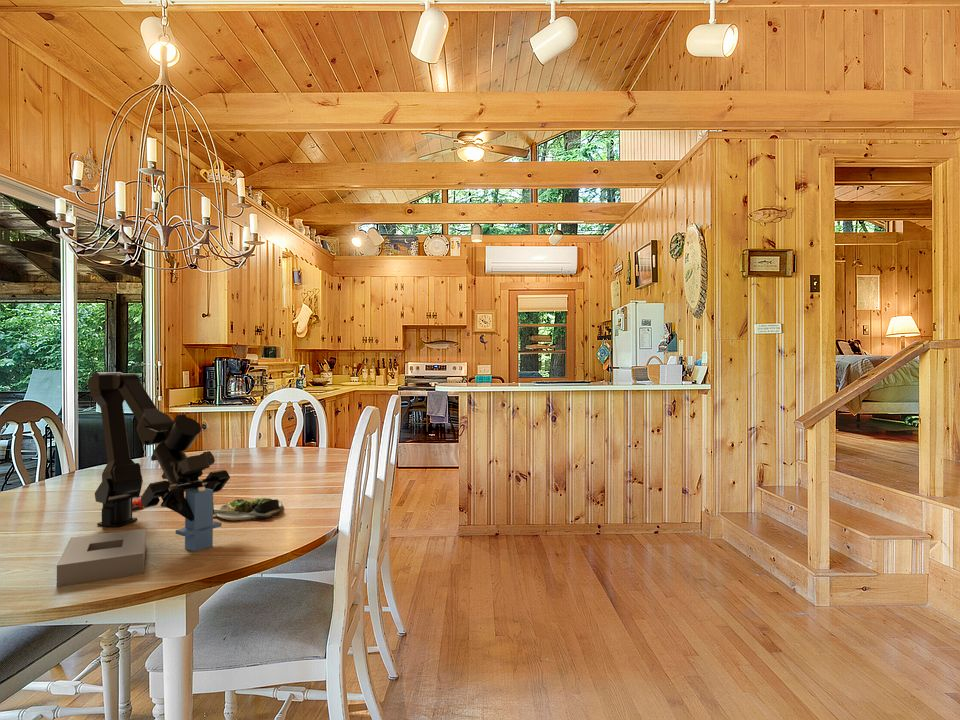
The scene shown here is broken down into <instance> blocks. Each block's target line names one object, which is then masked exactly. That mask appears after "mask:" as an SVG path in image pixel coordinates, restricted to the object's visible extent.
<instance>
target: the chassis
mask: <svg viewBox="0 0 960 720" xmlns="http://www.w3.org/2000/svg"><path fill="white" fill-rule="evenodd" d="M65 546H66V547H65V548H64V550H63V552H62V555H61V556H60V558H59V560H58V562H57V565H56V587H62V586H69V585H75V584H83V583H88V582H95V581H101V580H108V579H115V578H121V577H126V576H134V575H141V574H144V571H145V560H146V549H147V528H139V529H132V530H131V529H130V530H124V531H122V530H121V531H115V532H114V531H113V532H105V533H100V534H89V535H83V536H82V535H81V536H73V537H70V538H69V540H68V542H67V545H65Z"/></svg>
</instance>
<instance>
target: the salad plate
mask: <svg viewBox="0 0 960 720" xmlns="http://www.w3.org/2000/svg"><path fill="white" fill-rule="evenodd" d="M282 509H283V502H282V501H281V500H279V499H272V498H270V497H269V498H267V497H259V498H258V497H257V498H255V499H253V500H250V501H249V500H246V499H244V498H240V499H239V498H237V499H236V498H234V499H233V500H232V501H231V502H228V503H227V502H226V503H225V504H222V505H221V506H220V507H219V509H214V514H213V516H216V517H217V518H221V519H223V520H226V521H231V522H232V521H235V522H236V521H237V520H240V521H252V520H251V519H257V520H264V519H263V518H267V519H270V518H269V517H271V518H274V517H273V516H275V517H277V516H279V515H280V514H281V513H280V512H283V511H282ZM278 514H279V515H278ZM276 515H277V516H276ZM237 522H238V521H237Z"/></svg>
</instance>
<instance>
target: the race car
mask: <svg viewBox="0 0 960 720" xmlns="http://www.w3.org/2000/svg"><path fill="white" fill-rule="evenodd" d="M141 496H142V495H140V496H139V497H134V498H133V500H132V510H137V509H144V507H143V505H142V503H141Z"/></svg>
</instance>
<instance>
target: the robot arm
mask: <svg viewBox="0 0 960 720" xmlns="http://www.w3.org/2000/svg"><path fill="white" fill-rule="evenodd" d="M87 388H88V389H89V392H90V396H91V399H92V400H93V401H94V402H95V403H96V404H97V405H98V407H100V414H101V421H102V428H103V435H104V444H105V451H106V457H107V464H105V467H104V469H103V471H102V474H101V483H99V485H98V487H97V489H96V490H95V491H94V498H95V502H97V503H101V504H102V508H101V521H100V522H98V523H96V525H97V526H102V527H116V528H118V527H119V528H120V527H122V526H125V525H127V524H131V523H133V522H135V521H138V519H139V518H138V517H133V509H132V500H133V498H134V497H139V496H141V497H140V498H141V503H142V505H143V509H144V508H145V509H147V508H151V507H155V506H158V504H159V503H160V501H161V499H162V502H161V503H160V506H161V508H167V509H169V510H171V511H173V512H175V513H177V514H179V515H180V516H182V517H184V519H185V518H187V519H188V520H190V521H193V520H194V515H193V513H192V510H191V509H190V507H189V505H188V503H187V501H186V499H185V491H190V490H194V489H198V487H205V488H208V489H213V494H214V493H218V492H221V490H223V488H224V486H226V484H227V483H228V482H229V480H230V479H231V476H230V474H229V472H228V470H225V469H219V470H215V471H209V473H208V474H207V476H206V477H205V478H202V479H199V477H202V476H203V474H204V473H203V471H204V470H206V469H209V468H210V466H212V465H214V463H215V461H216V460H215V456H214V455H213V453H212V451H211V450H209V451H203V452H202V453H200V454H198V455H191V456H187V455H186V453H185V451H187V450H188V449H190V448H191V446H192V444H193V443H194V442H195V440H196V439H197V437H198V436H199V435H200V433H201V431H202V426H201V424H200V422H197V421H196V420H195V419H193V418H190V417H187V415H186V414H185V413H183V414H177V415H176V416H175V417H174V420H173V419H172V418H171V417H170V415H168V414H167V413H164V412H163V411H161V410H160V409H158V408H157V406H156V405H155V403H154V401H153V400H152V399H151V396H150V395H149V394H148V392H147V390H146V389H145V387H144V386H143V384H142V383H141V378H140V376H139V375H138V374H136V373H129V372H128V373H123V372H121V371H115V372H114V371H109V372H108V371H107V372H106V371H105V372H104V371H103V372H94V373H93V374H92V375H91V376H90V377H88V379H87ZM124 402H125V403H126V404H127V406H128V407H129V409H130V411H131V413H132V414H133V416H134V418H135V419H136V421H137V426H136V432H137V435H138V439H139V440H140V442H141V443H142V444H143V445H145V446H152V445H156V447H155V448H153V451H152V455H151V456H150V460H151V461H152V462H154V461H155V462H156V461H158V464H159V466H160V468H161V470H162V472H163V473H162V474H161V477H162V480H161V481H154V482H150V483H149V484H148V486H147V487H146V488H145V490H144V491H143V493H142V495H141V491H142V487H143V476H142V471H141V464H140V463H139V462H134V460H133V459H132V458H131V455H130V446H129V441H128V434H127V426H126V419H125V411H124ZM160 498H161V499H160ZM214 507H215V506H214V504H213V514H214V510H215V508H214Z"/></svg>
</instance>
